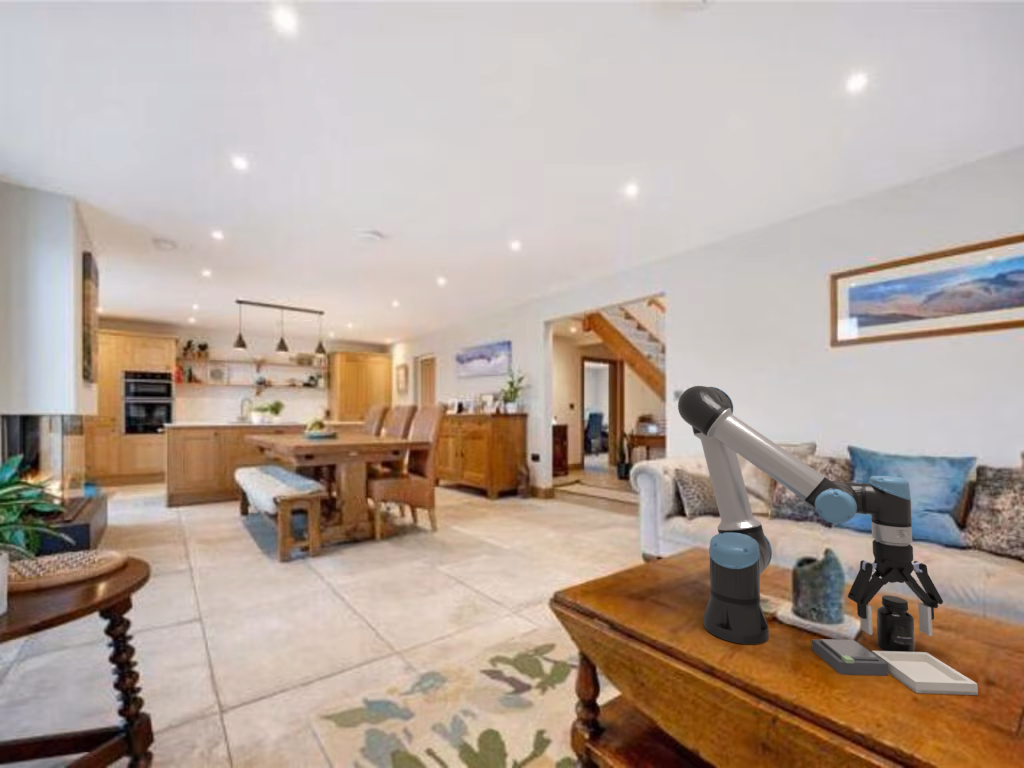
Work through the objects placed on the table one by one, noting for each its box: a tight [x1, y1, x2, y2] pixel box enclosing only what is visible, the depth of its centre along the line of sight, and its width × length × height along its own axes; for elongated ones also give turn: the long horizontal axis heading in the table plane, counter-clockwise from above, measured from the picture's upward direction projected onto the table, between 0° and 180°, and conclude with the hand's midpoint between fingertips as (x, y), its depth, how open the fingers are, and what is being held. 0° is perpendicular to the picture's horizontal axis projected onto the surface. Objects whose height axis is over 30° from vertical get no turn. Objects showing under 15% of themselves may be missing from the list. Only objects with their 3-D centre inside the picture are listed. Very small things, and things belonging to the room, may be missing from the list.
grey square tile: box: [820, 638, 877, 661], centre depth 105 cm, size 7×7×1 cm
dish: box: [871, 650, 979, 696], centre depth 99 cm, size 12×12×2 cm
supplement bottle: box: [876, 594, 915, 652], centre depth 110 cm, size 7×7×12 cm
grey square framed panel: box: [811, 638, 889, 677], centre depth 104 cm, size 10×10×3 cm
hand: (896, 632), depth 110 cm, fingers open, 13 cm apart
